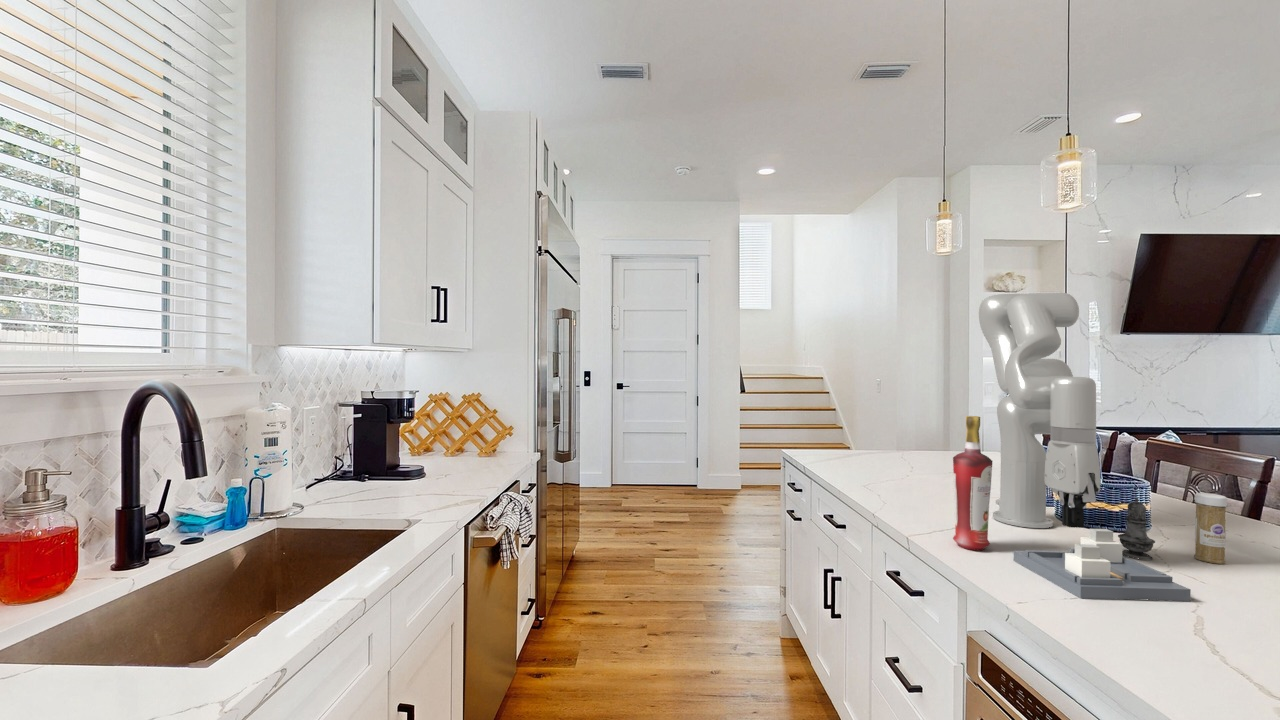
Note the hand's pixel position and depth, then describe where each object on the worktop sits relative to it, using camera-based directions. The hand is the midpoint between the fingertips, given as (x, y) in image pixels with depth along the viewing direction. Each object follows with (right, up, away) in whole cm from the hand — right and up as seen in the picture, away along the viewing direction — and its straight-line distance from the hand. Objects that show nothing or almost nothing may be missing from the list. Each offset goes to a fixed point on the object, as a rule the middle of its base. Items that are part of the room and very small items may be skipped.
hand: (1072, 526), depth 116 cm
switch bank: (-5, -6, -12) cm, 15 cm away
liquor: (-18, -6, +5) cm, 20 cm away
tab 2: (-10, -4, -17) cm, 20 cm away
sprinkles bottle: (+27, -7, -1) cm, 28 cm away
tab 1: (0, -4, -7) cm, 8 cm away
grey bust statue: (+14, -7, +1) cm, 16 cm away
